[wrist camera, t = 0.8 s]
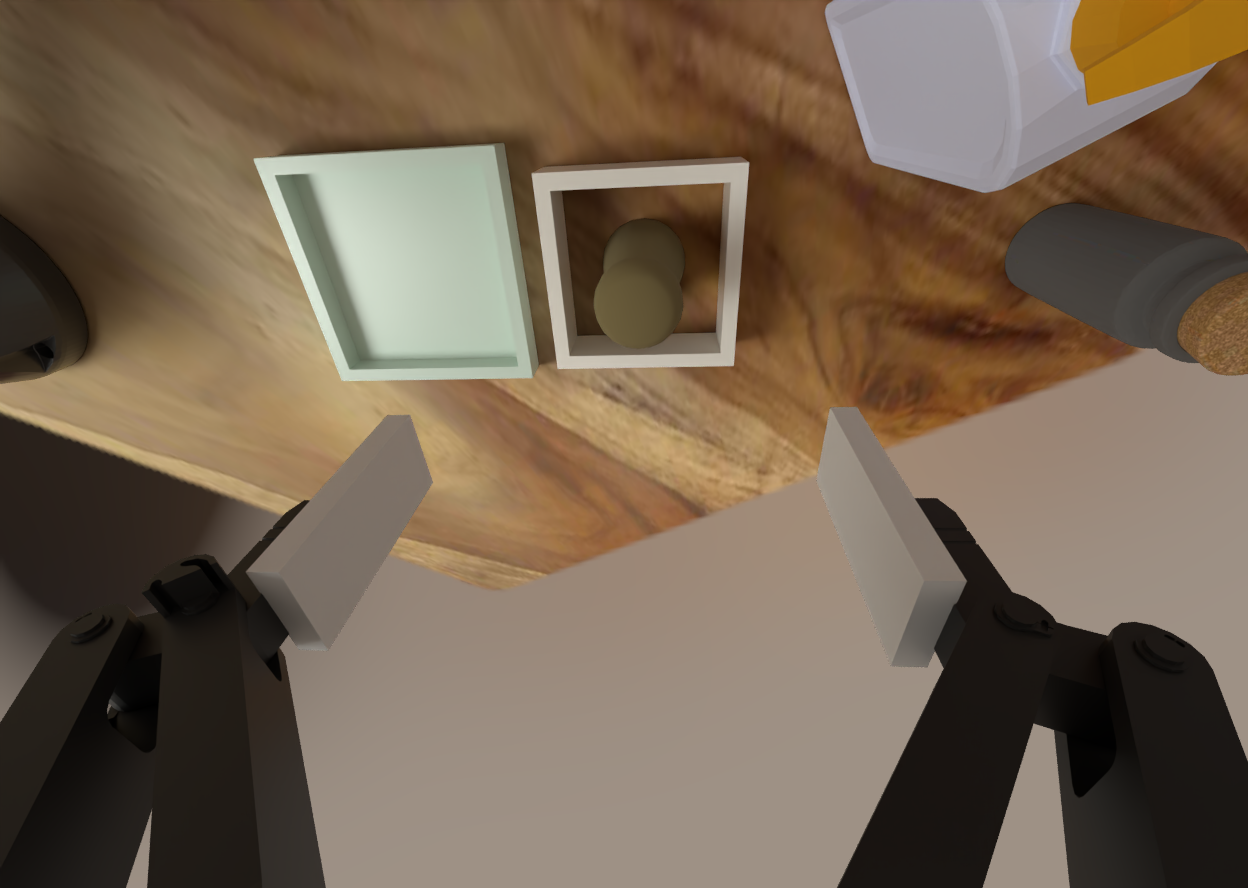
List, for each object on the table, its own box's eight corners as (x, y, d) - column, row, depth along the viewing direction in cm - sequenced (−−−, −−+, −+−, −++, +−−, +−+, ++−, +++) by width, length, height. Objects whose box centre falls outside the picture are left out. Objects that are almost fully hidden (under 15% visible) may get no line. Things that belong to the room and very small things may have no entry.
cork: (694, 289, 38) (703, 348, 29) (618, 312, 39) (604, 375, 30) (672, 206, 35) (675, 242, 26) (591, 234, 36) (566, 277, 27)
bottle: (993, 236, 34) (1179, 310, 22) (1092, 182, 32) (1359, 230, 20) (1014, 306, 37) (1191, 408, 25) (1107, 260, 35) (1353, 346, 22)
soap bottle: (808, 17, 29) (1085, -152, 10) (937, -74, 26) (1629, -528, 8) (857, 170, 33) (1121, 258, 14) (973, 102, 31) (1483, 98, 12)
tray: (356, 368, 44) (342, 380, 42) (276, 155, 35) (253, 158, 33) (538, 365, 42) (532, 378, 40) (504, 142, 33) (493, 145, 31)
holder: (566, 347, 41) (557, 368, 38) (544, 166, 34) (531, 173, 31) (728, 344, 40) (733, 365, 37) (740, 156, 33) (749, 162, 30)
